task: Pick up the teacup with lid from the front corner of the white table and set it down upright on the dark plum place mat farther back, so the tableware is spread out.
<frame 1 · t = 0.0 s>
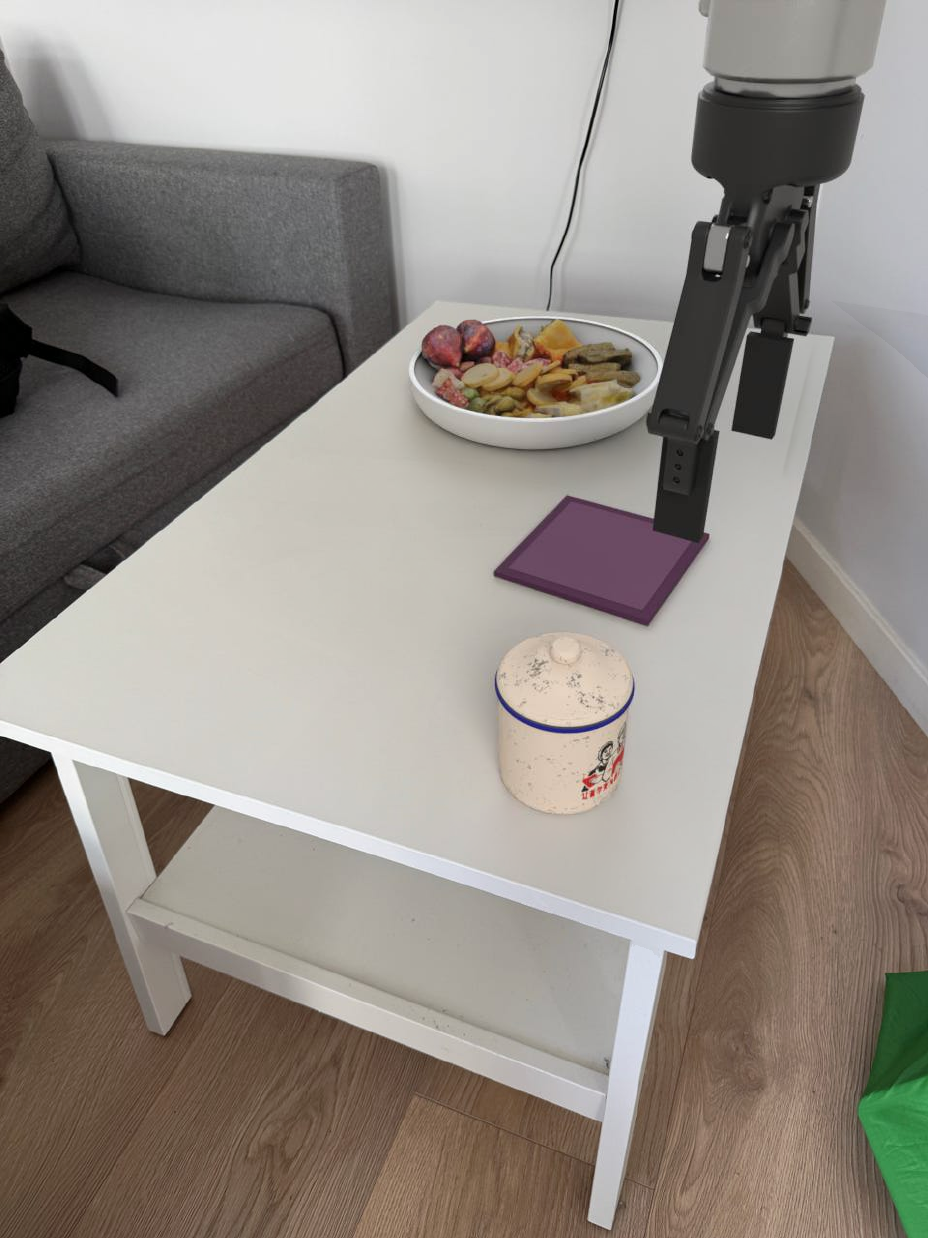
hand: (718, 479, 56), 20 cm above the table, tool pointing down, fingers open, 13 cm apart
teacup with lid: (566, 757, 66), on the table
place mat: (603, 557, 85), on the table
bowl: (534, 403, 111), on the table
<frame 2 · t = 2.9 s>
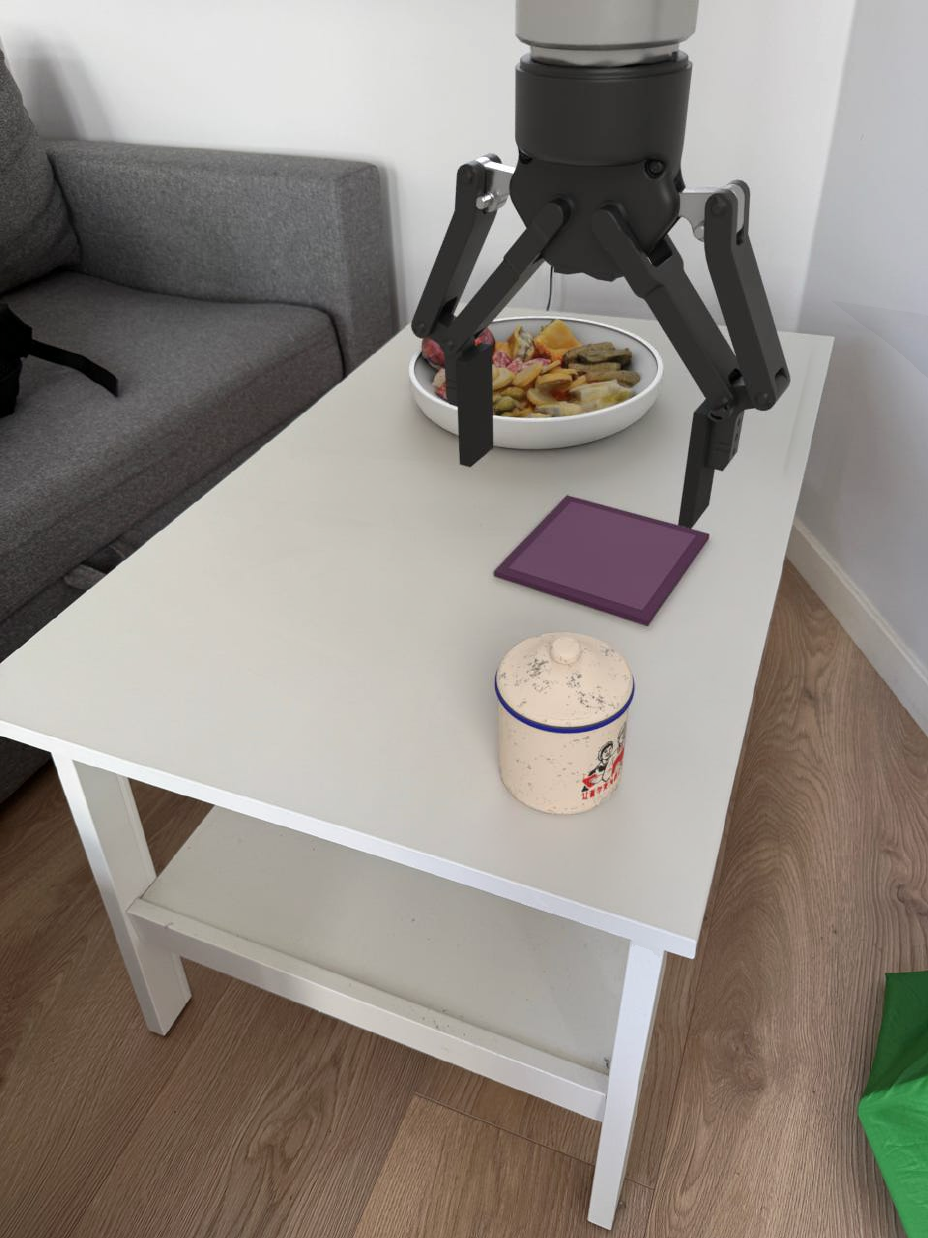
hand: (579, 484, 52), 22 cm above the table, tool pointing down, fingers open, 13 cm apart
nothing on the table moved.
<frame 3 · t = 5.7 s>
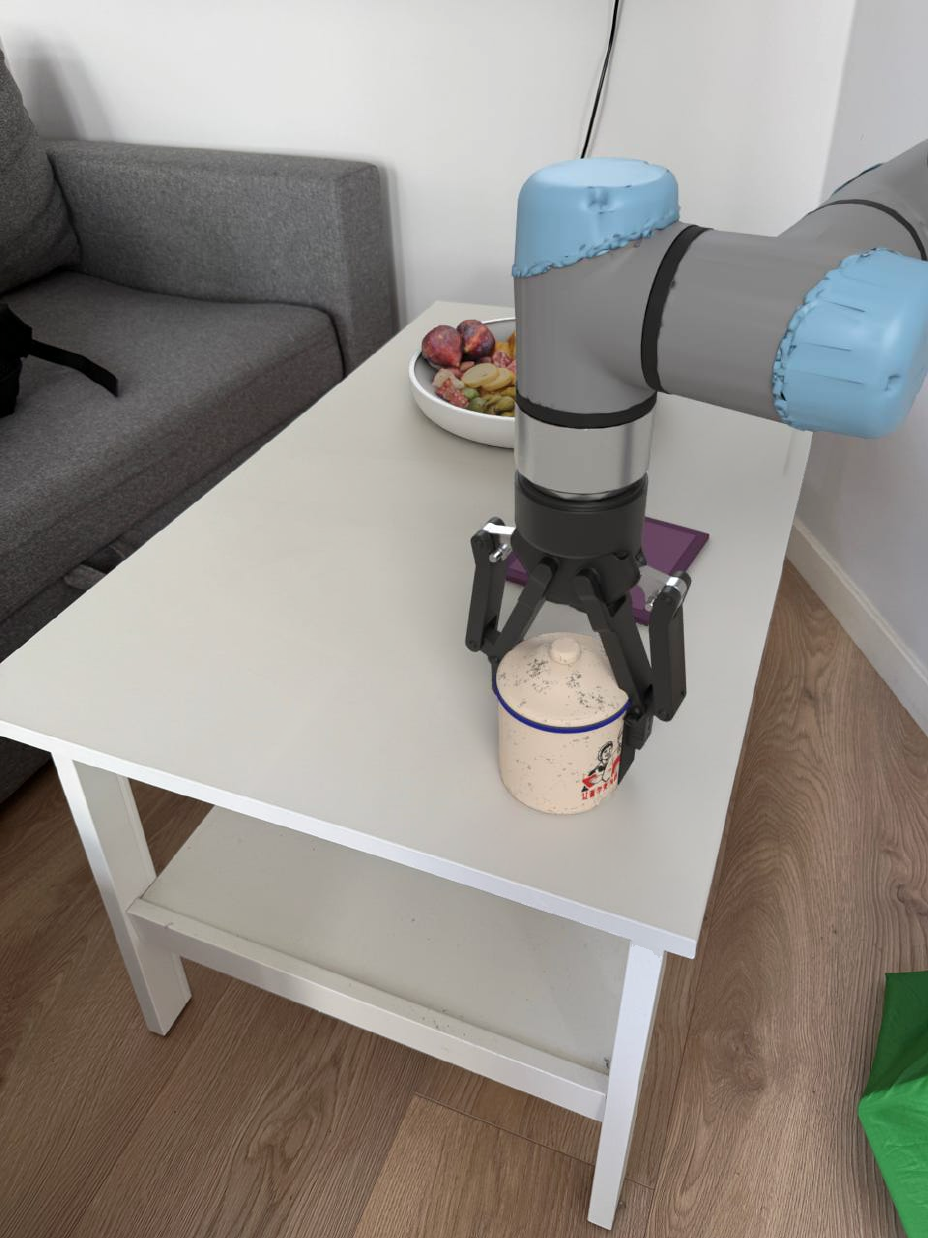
hand: (567, 748, 65), 1 cm above the table, tool pointing down, fingers closed on teacup with lid, 8 cm apart
teacup with lid: (566, 757, 66), on the table, touching gripper
everything else where it was.
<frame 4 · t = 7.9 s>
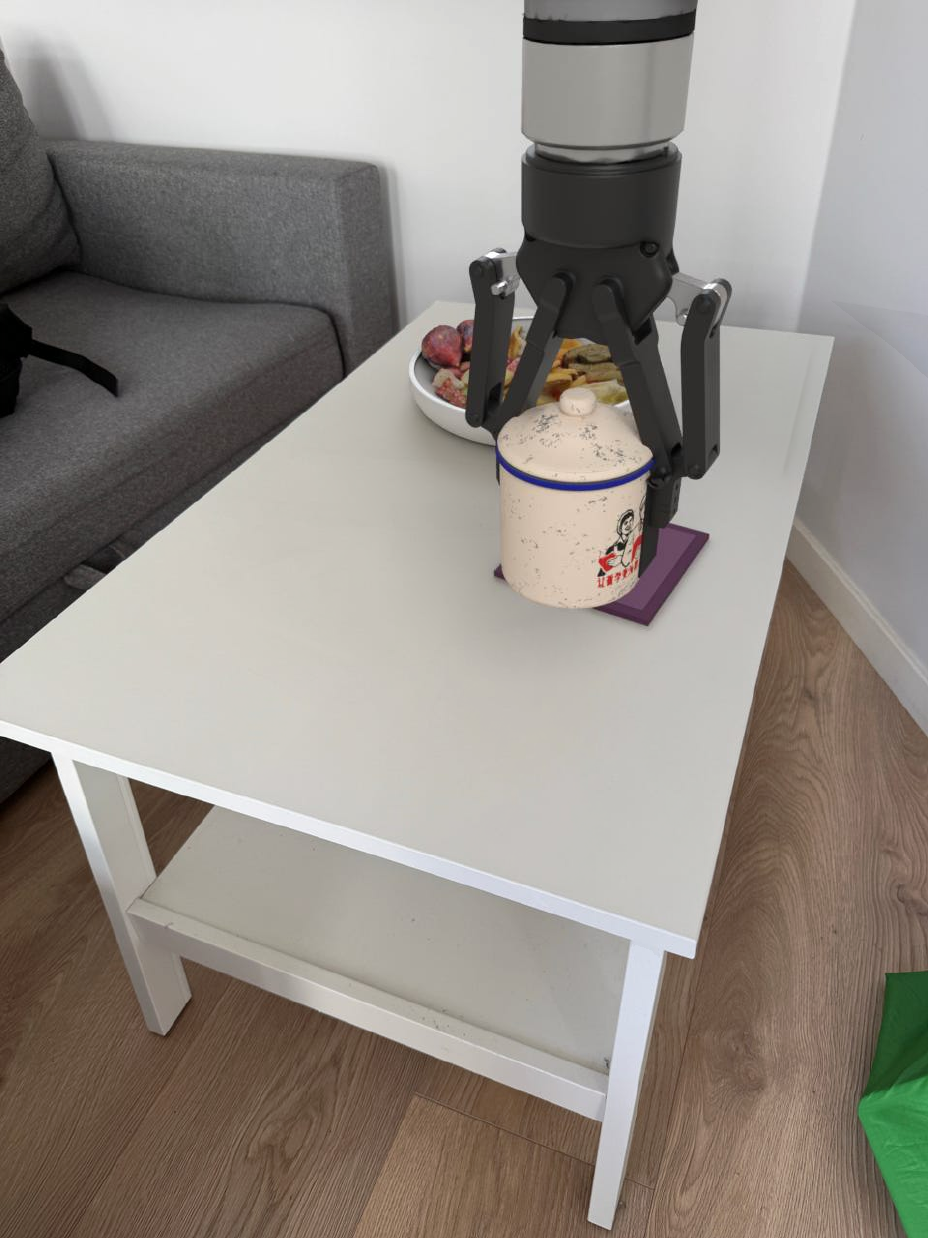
hand: (581, 547, 57), 17 cm above the table, tool pointing down, fingers closed on teacup with lid, 7 cm apart
teacup with lid: (577, 559, 58), point 16 cm above the table, touching gripper
everything else where it was.
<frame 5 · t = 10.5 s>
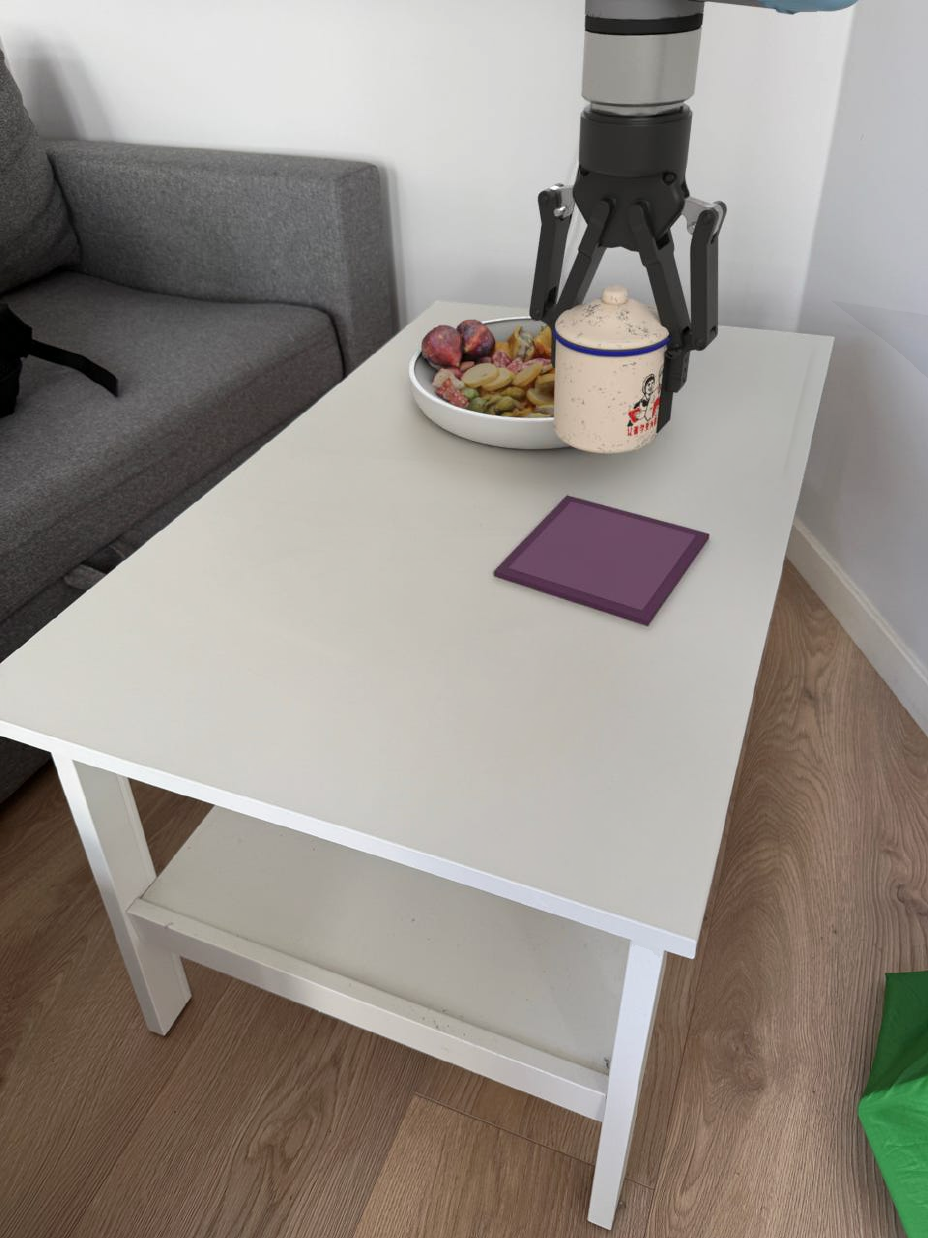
hand: (613, 414, 76), 15 cm above the table, tool pointing down, fingers closed on teacup with lid, 7 cm apart
teacup with lid: (610, 424, 77), point 14 cm above the table, touching gripper
everything else where it was.
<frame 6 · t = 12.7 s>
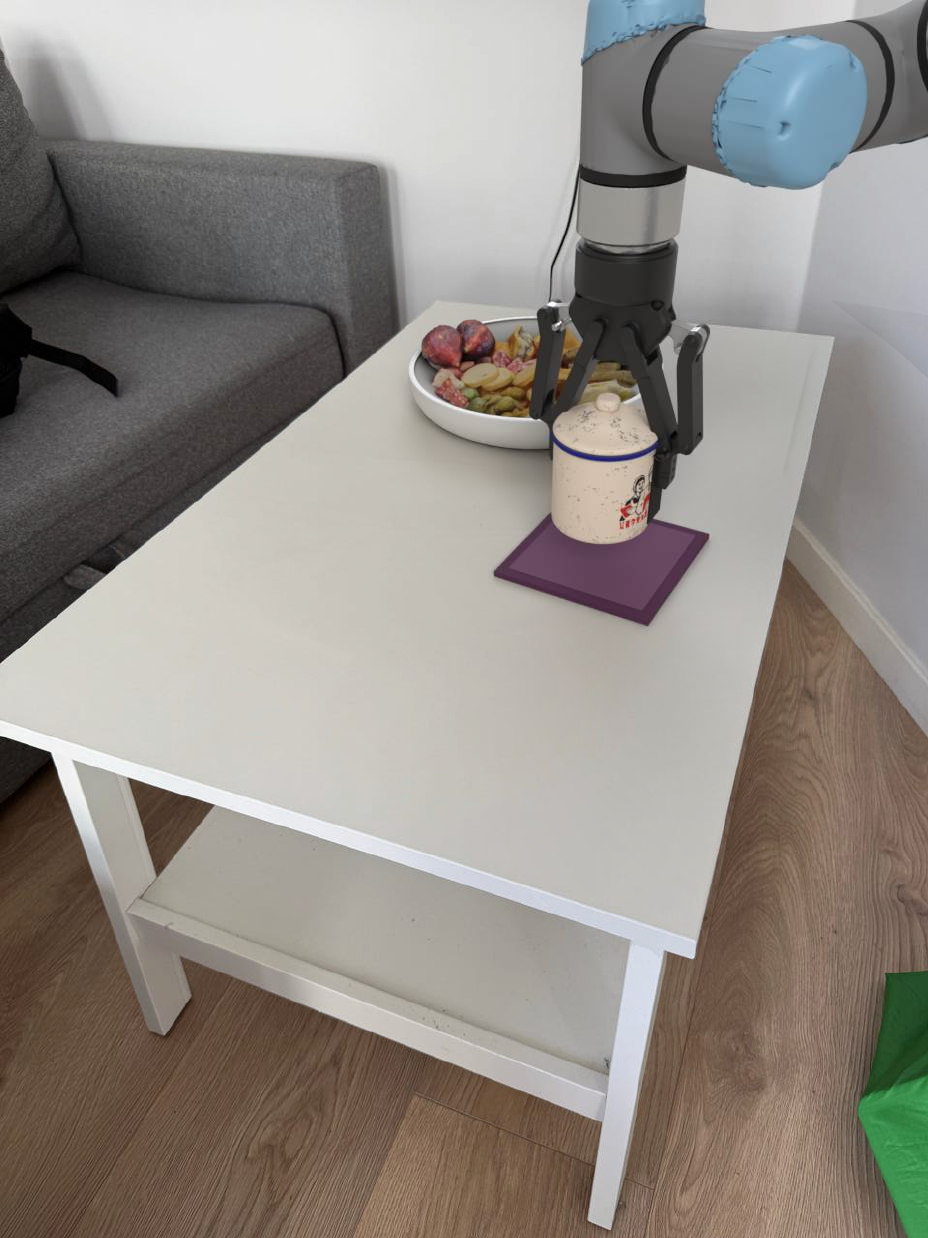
hand: (607, 503, 81), 6 cm above the table, tool pointing down, fingers closed on teacup with lid, 7 cm apart
teacup with lid: (604, 512, 82), point 5 cm above the table, touching gripper
everything else where it was.
when the fingers open (1 cm above the table, at t = 14.4 s): teacup with lid stays where it is, resting on place mat.
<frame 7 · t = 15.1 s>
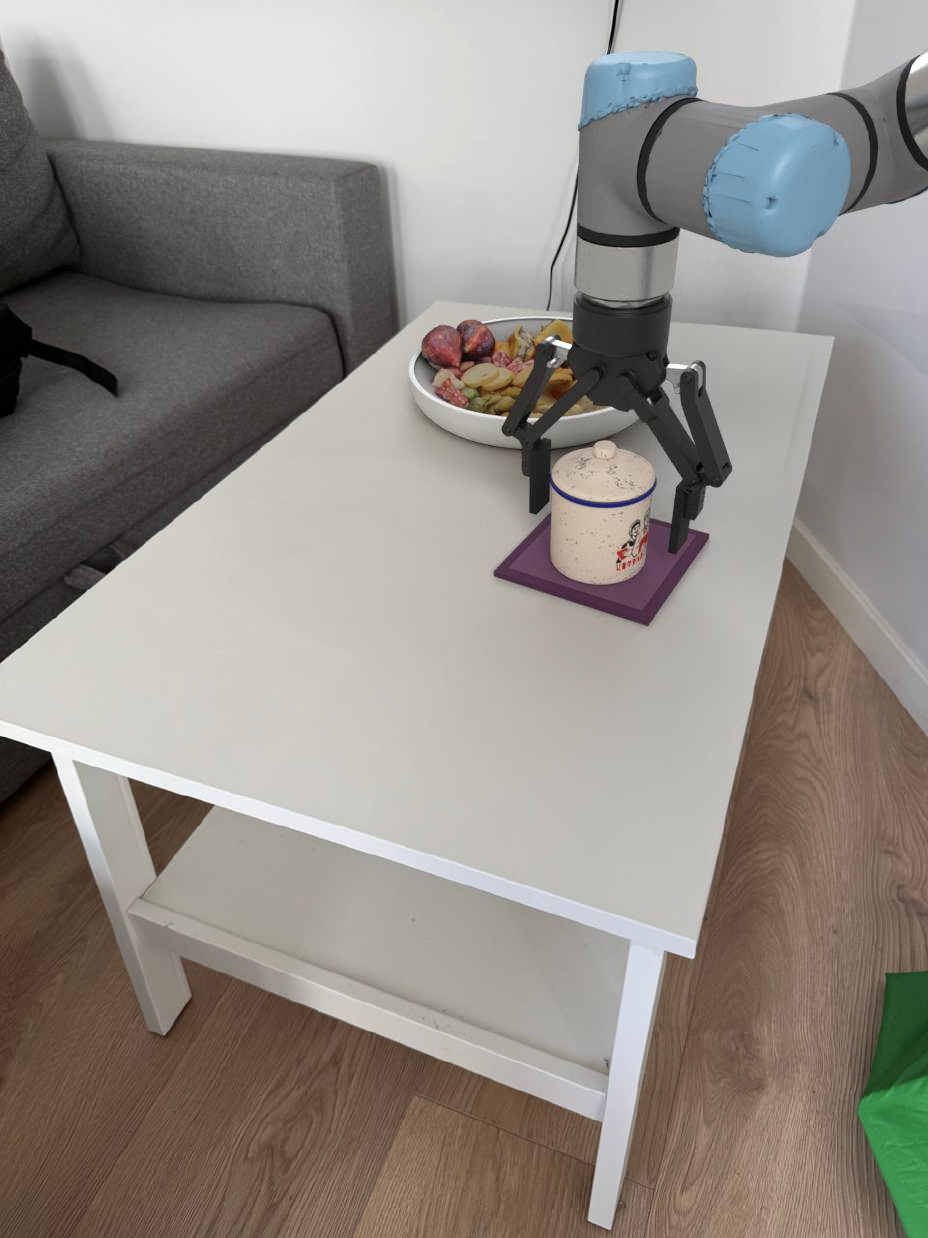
hand: (606, 526, 83), 3 cm above the table, tool pointing down, fingers open, 13 cm apart
teacup with lid: (601, 552, 85), resting on place mat
everything else where it was.
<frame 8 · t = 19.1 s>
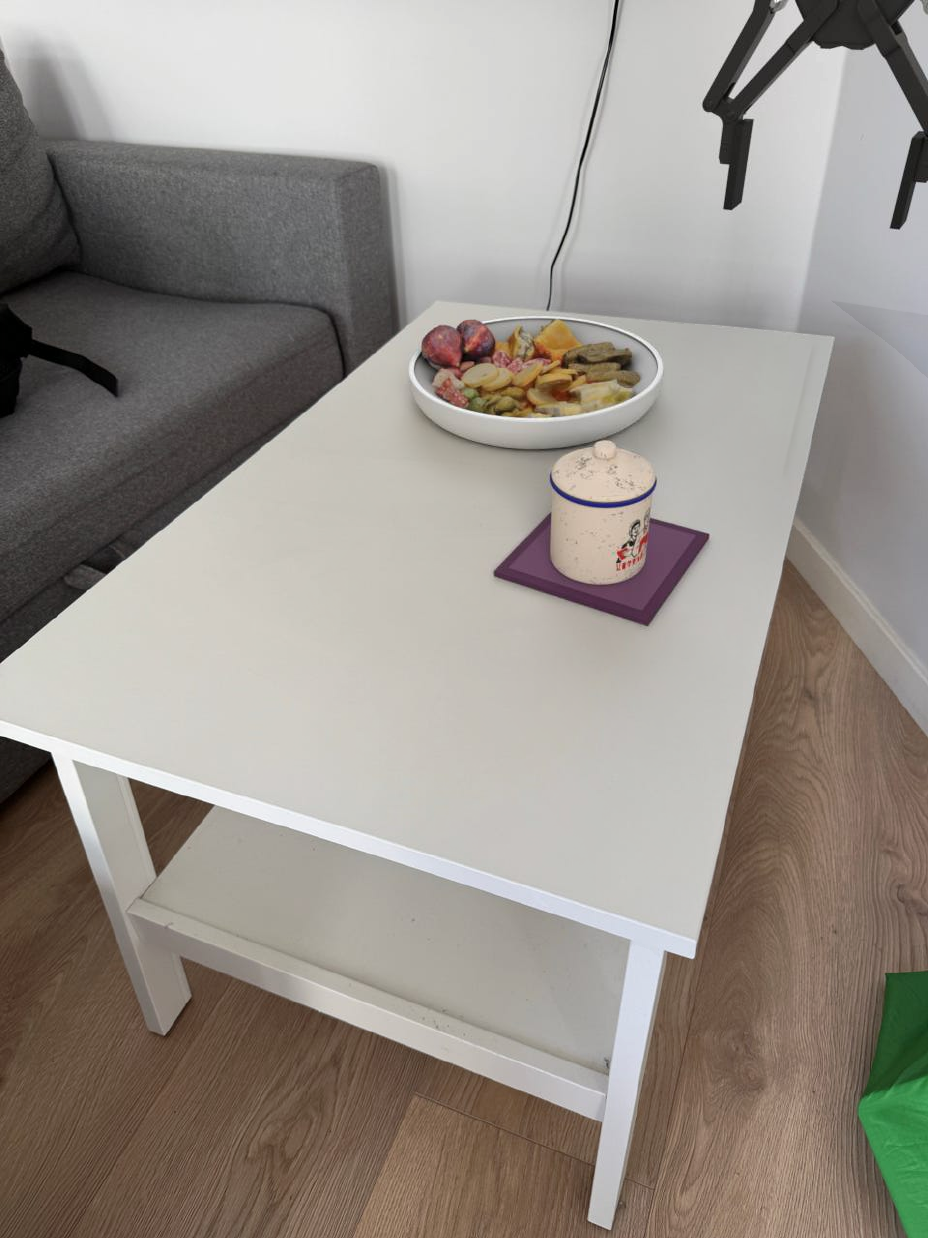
hand: (811, 215, 76), 27 cm above the table, tool pointing down, fingers open, 13 cm apart
nothing on the table moved.
at the end: teacup with lid inside the target area on the place mat (0.2 cm from its centre), point 0.5 cm above the place mat's base; teacup with lid tilted 0°; the gripper is holding nothing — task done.
